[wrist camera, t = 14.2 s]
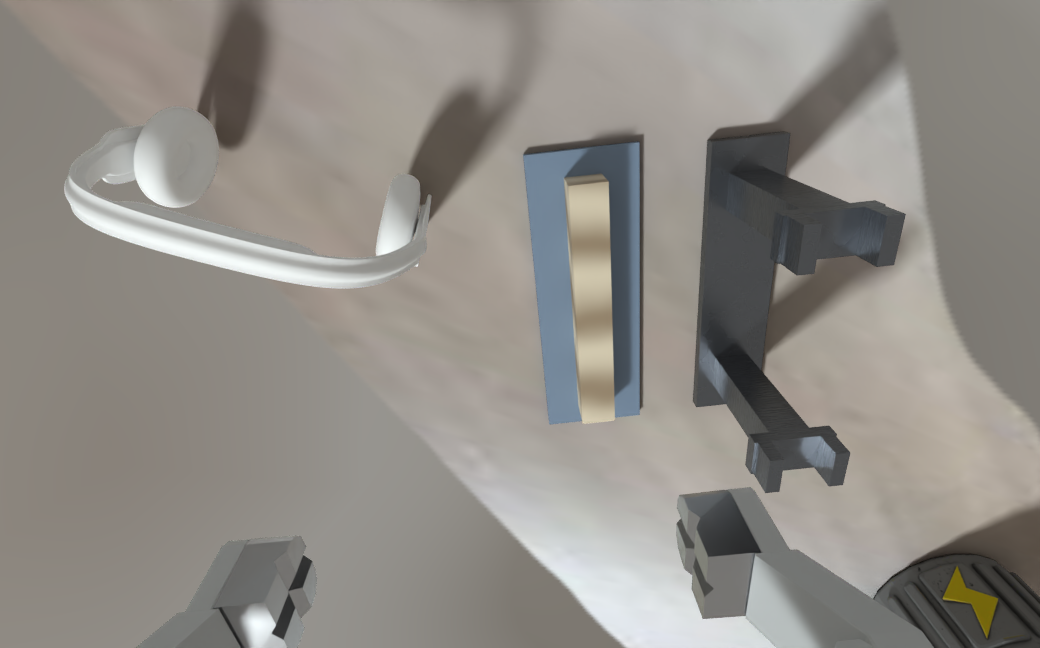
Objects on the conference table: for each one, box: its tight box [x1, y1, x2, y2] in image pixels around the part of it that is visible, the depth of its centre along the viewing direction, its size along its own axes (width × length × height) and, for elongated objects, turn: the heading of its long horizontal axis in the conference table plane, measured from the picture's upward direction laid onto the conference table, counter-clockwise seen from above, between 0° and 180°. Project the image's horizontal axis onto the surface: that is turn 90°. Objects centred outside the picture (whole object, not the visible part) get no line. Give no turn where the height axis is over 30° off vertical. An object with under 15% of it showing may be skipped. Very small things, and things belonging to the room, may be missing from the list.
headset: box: [64, 106, 432, 288], centre depth 34 cm, size 20×7×18 cm, turn 72°
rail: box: [564, 174, 615, 424], centre depth 46 cm, size 22×3×3 cm, turn 6°
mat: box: [523, 141, 640, 424], centre depth 47 cm, size 26×9×1 cm, turn 6°
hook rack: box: [693, 132, 906, 493], centre depth 41 cm, size 25×6×15 cm, turn 6°
